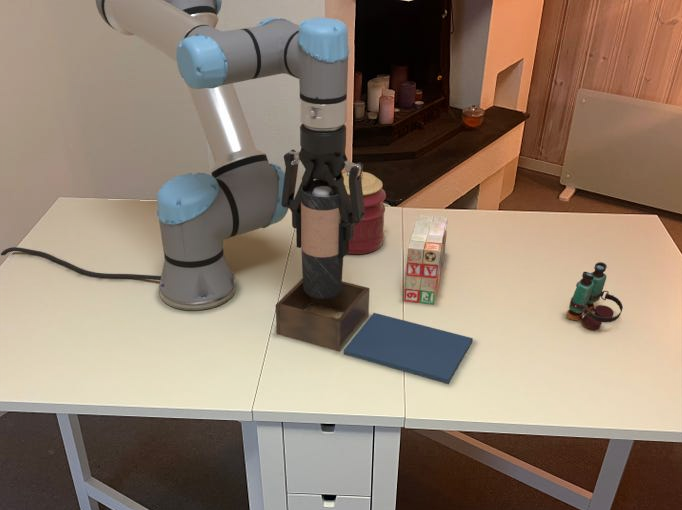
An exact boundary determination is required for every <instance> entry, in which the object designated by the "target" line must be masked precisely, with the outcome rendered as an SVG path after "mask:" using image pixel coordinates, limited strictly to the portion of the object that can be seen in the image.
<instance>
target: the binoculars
mask: <svg viewBox="0 0 682 510" xmlns="http://www.w3.org/2000/svg"><path fill="white" fill-rule="evenodd" d="M593 268H594V270H593V271H592V272H589V271H583V272H582V274H581V279H579V281H577V282H576V285H575V287H576V288H575V289H574V292H573V295H572V297H571V298H570V302H569V306H568V308H569V309H568V310H567V312H566V315H565V316H566V318H567V319H568V320H574V321H577V320H580V321H581V323H582V324H583V325H584V327H585V328H587V329H589V330H592V331H598V330H599V329H600V327H601V325H602V323H612V322H614V321H616V320H618V319H619V318H620V316H621V315H622V312H623V308H624V306H623V303H622V301H621V300H620V299H619V298H618V297H616V296H615V295H614V294H613V295H612V294H610V293H609V291H608V290H604V287H605V284H606V280H607V277H608V276H607V274H606V273H605V272H606V270H607V268H608V265H607V264H606V263H605V262H603V261H598V262H596V263H595V265H594V267H593ZM604 294H605V295H604ZM603 296H604V297H603ZM600 299H601V300H603V301H606V300H609V301H612V302H614V303H615V304H616V305H617V306H618V308H619V310H620V312H619V313H618V314H617V315H614V314H615V313H614V310H613V309H612V308H611V307H610V306H608V305H604V304H598V305H596V306H595V303H597V302H598V301H600Z"/></svg>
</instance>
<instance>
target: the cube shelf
mask: <svg viewBox="0 0 682 510" xmlns="http://www.w3.org/2000/svg"><path fill="white" fill-rule="evenodd" d="M370 290H371V289H370V287H367V286H363V285H359V284H355V283H350V282H346V281H343V280H342V286H341V291H340V293H339V294H337V295H336V296H334V297H330V298H315V297H311V296H309V295H307V294H306V293H305V292H304V289H303V277H302V278H301V279H299V281H298V282H297V283H296V284H295V285H294V286H293V287H292V288H291V289H290V290H289V291H288V292H287V293H286V294H285V295H284V296H283V297H282V298H281V299H280V300H279V301H278V302H277V303H276V304H275V324H276V335H279V336H283V337H286V338H290V339H293V340H297V341H300V342H304V343H308V344H311V345H314V346H318V347H322V348H325V349H329V350H332V351H336V352H341V351H342V350H344V348H345V346H347V345H348V343H349V342H350V341H351V340H352V339H353V337H354V336H355V335H356V334H357V332H358V331H359V330H360V329H361V327H362V326H363V325H364V324H365V322H366V321H367V320H368V319H369V316H370V315H369V311H370ZM310 305H314V306H318V307H322V308H325V309H328V310H332V311H337V312H341V313H342V314H341V316H339V318H336V317H333V316H327V315H326V314H325V315H324V314H320V313H317V312H313V311H309V310H306V308H307V307H308V306H310Z"/></svg>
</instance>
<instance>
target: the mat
mask: <svg viewBox="0 0 682 510" xmlns="http://www.w3.org/2000/svg"><path fill="white" fill-rule="evenodd" d="M473 340H474V338H473V337H470V336H466V335H461V334H458V333H455V332H450V331H447V330H443V329H439V328H434V327H432V326H427V325H424V324H419V323H416V322H411V321H408V320H403V319H400V318H397V317H392V316H389V315H384V314H380V313H377V312H373V313H372V314H371V315H370V317H368V318H367V319H366V321H365V322H364V323H363V324H362V326H361V327H360V328H359V329H358V331H357V332H356V333H355V334H354V336H353V337H352V338H351V339H350V341H349V342H348V343H347V344H346V347H344V348H343V355H345V356H348V357H352V358H356V359H359V360H363V361H366V362H369V363H373V364H376V365H380V366H384V367H388V368H391V369H394V370H397V371H400V372H401V371H402V372H404V373H408V374H413V375H416V376H420V377H422V378H426V379H430V380H434V381H437V382H441V383H444V384H447V385H448V384H450V382H451V381H452V379H453V377H454V375H455V373H456V371H458V369H459V367H460V364H461V363H462V361H463V359H464V358H465V356H466V354H467V352H468V351H469V349H470V348H471V345H472V344H473Z"/></svg>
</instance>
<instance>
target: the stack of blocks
mask: <svg viewBox="0 0 682 510" xmlns="http://www.w3.org/2000/svg"><path fill="white" fill-rule="evenodd" d="M448 218H449V217H448V216H438V215H426V214H425V215H424V214H419V216H418V220H417V219H416V220H415V223H414V227H413V231H412V234H411V237H410V241H409V244H408V247H407V256H406V257H407V259H406V260H407V261H406V268H405V269H406V270H405V287H404V297H403V301H404V302H410V303H416V304H417V303H419V304H427V305H435V302H436V298H437V295H438V291H439V287H440V279H441V272H442V268H443V265H444V260H445V253H446V244H447V235H448V230H447V228H448Z"/></svg>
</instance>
